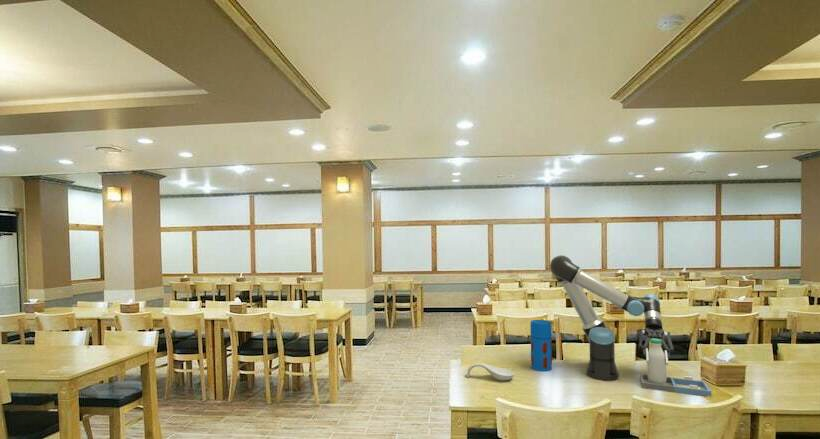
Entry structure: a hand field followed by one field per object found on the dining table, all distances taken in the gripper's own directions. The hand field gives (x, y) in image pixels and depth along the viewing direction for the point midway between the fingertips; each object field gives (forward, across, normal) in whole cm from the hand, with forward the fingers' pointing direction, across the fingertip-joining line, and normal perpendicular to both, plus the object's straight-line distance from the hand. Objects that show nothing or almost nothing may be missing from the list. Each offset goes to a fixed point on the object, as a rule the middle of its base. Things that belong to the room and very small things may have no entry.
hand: (657, 362), depth 198 cm
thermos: (+4, +54, -14) cm, 56 cm away
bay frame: (+6, -7, -10) cm, 14 cm away
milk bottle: (+4, 0, -10) cm, 11 cm away
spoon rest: (+23, +75, +4) cm, 78 cm away
